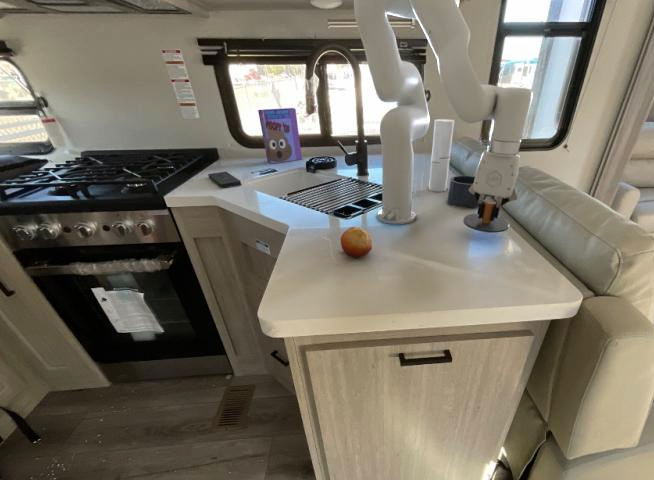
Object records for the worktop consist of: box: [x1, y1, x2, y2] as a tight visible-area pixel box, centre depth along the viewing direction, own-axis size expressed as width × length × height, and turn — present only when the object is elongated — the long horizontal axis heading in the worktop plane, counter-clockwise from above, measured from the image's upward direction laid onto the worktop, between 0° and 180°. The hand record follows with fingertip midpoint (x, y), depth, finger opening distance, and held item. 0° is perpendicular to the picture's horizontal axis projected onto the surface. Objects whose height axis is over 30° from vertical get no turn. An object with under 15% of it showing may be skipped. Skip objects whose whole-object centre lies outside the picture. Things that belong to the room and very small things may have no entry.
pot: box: [447, 175, 479, 210], centre depth 117 cm, size 12×12×8 cm
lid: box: [462, 200, 510, 234], centre depth 90 cm, size 13×13×7 cm
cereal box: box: [257, 107, 303, 165], centre depth 166 cm, size 17×5×24 cm, turn 130°
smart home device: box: [207, 171, 242, 189], centre depth 139 cm, size 8×2×20 cm
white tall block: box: [428, 118, 455, 193], centre depth 126 cm, size 7×7×25 cm
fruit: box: [340, 226, 373, 259], centre depth 83 cm, size 8×8×8 cm
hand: (487, 217), depth 90 cm, fingers closed on lid, 2 cm apart
